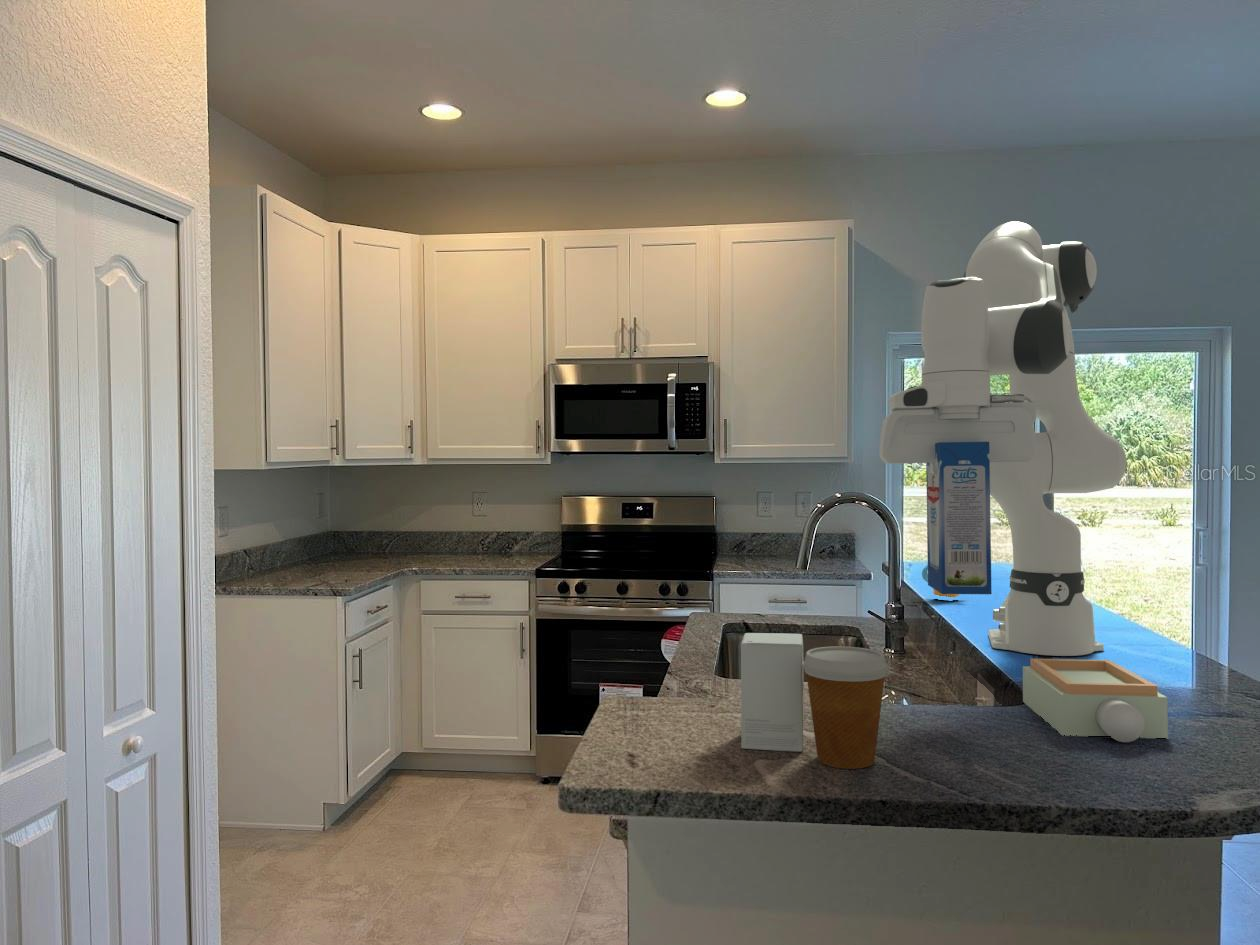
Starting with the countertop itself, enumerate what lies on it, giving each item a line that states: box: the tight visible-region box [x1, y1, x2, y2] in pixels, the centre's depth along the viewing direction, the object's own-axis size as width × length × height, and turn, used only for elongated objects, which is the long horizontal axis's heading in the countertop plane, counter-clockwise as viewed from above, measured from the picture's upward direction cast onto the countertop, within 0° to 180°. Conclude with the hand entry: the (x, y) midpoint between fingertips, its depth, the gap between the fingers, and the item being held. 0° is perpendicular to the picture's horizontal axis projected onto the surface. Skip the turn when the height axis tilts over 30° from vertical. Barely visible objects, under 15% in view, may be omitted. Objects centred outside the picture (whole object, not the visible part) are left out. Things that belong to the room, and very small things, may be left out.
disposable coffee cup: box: [802, 645, 890, 770], centre depth 100 cm, size 10×10×12 cm
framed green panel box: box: [1022, 658, 1169, 743], centre depth 114 cm, size 19×12×6 cm, turn 172°
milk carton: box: [925, 442, 992, 595], centre depth 121 cm, size 10×6×20 cm, turn 172°
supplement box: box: [740, 632, 805, 753], centre depth 107 cm, size 7×7×13 cm
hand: (956, 496), depth 122 cm, fingers closed on milk carton
